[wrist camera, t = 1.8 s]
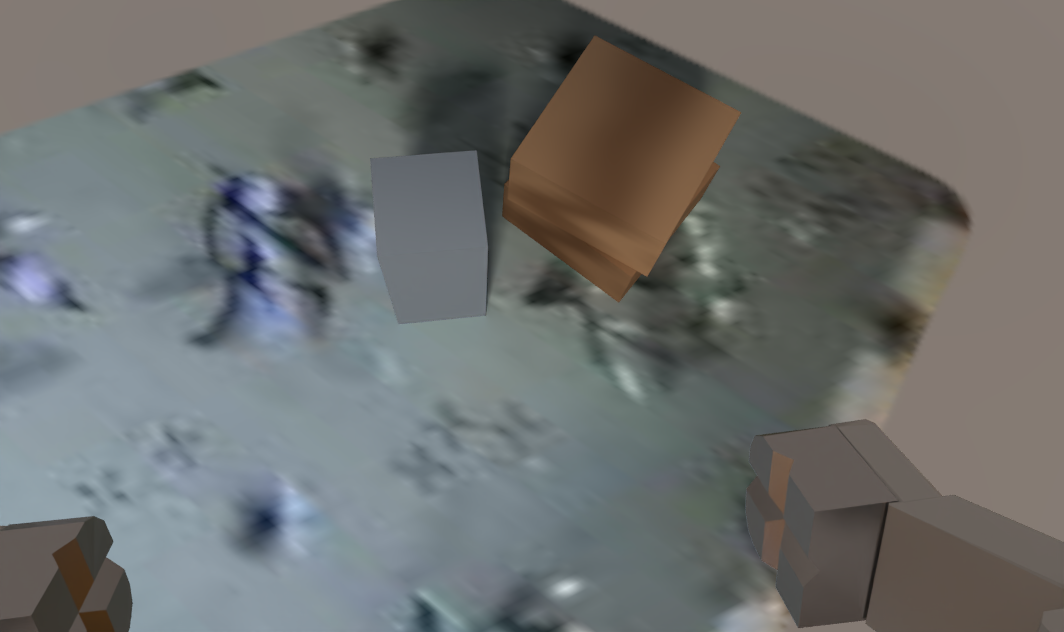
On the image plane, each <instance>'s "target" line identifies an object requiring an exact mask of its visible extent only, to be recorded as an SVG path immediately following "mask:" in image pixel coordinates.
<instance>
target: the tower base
mask: <svg viewBox="0 0 1064 632" xmlns="http://www.w3.org/2000/svg"><path fill="white" fill-rule="evenodd" d="M719 167H720V166H719V165H717V164H716V163H714V162H713V163H712V165H711V166H710V168H709V170H708V172H707V173H706V175H705V177H704V179H703V180H702V182H701V184H700V186H699V187H698V189H697V191H696V193H695V194H694V196H693V198H692V199H691V201H690V203H689V205H688V206H687V208H686V210H685V212H684V213H683V215H682V217H681V219H680V220H679V222H678V224H677V226H676V227H675V229H674V231H673V233H674V232H675V231H676V230H677V228H678V227H679V226H680V225H681V223H682V222H683V221H684V219H685V218H686V217H687V216H688V214H689V213H690V212H691V211H692V209H693V208H694V207H695V206H696V204H697V203H698V202H699V200H700V199H701V198H702V196H703V194H704V193H705V191H706V189H707V188H708V186H709V184H710V182H711V181H712V179H713V177H714V176H715V174H716V172H717V171H718V169H719ZM508 188H509V180H508V181H507V182H506V183H505V184H504V198H503V212H502V216H503V217H504V218H505V219H507V220H508V221H509V222H511V223H512V224H513V225H515V226H516V227H517V228H519V229H520V230H522V231H523V232H524V233H526V234H527V235H528V236H530V237H531V238H532V239H534V240H535V241H536V242H538V243H539V244H540V245H542V246H543V247H544V248H546V249H547V250H549V251H550V252H551V253H553V254H554V255H555V256H557V257H558V258H559V259H561V260H562V261H563V262H565V263H566V264H567V265H569V266H570V267H572V268H573V269H574V270H576V271H577V272H578V273H580V274H581V275H582V276H584V277H585V278H586V279H588V280H589V281H590V282H592V283H593V284H595V285H596V286H597V287H599V288H600V289H601V290H603V291H604V292H605V293H607V294H608V295H609V296H611V297H612V298H613V299H615V300H616V301H617V302H620V300H621V299H622V298H623V297H624V295H625V294H626V293H627V292H628V290H629V289H630V288H631V287H632V285H633V284H634V283H635V281H636V280H637V279H638V278H639V276H640V275H641V273H640V272H638V271H636V270H634V269H632V268H631V267H629V266H627V265H625V264H624V263H622V262H620V261H618V260H616V259H615V258H613V257H611V256H609V255H607V254H606V253H604V252H602V251H600V250H598V249H597V248H595V247H593V246H591V245H589V244H588V243H586V242H584V241H582V240H580V239H579V238H577V237H575V236H573V235H572V234H570V233H568V232H566V231H564V230H563V229H561V228H559V227H557V226H555V225H554V224H552V223H550V222H548V221H546V220H545V219H543V218H541V217H539V216H537V215H536V214H534V213H532V212H530V211H529V210H527V209H525V208H523V207H521V206H520V205H518V204H516V203H514V202H512V201H511V200H509V199H508ZM673 233H672V234H671V236H672V235H673ZM671 236H670V237H671Z"/></svg>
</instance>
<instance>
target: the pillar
mask: <svg viewBox="0 0 1064 632" xmlns="http://www.w3.org/2000/svg"><path fill="white" fill-rule="evenodd" d="M370 161H371V175H372V189H373V203H374V217H375V231H376V245H377V257H378V260H379V264H380V267H381V270H382V273H383V276H384V280H385V283H386V286H387V289H388V292H389V296H390V299H391V302H392V305H393V308H394V312H395V315H396V318H397V321H398V324H406V323H416V322H426V321H436V320H446V319H456V318H466V317H476V316H486V292H487V262H488V242H487V234H486V225H485V217H484V208H483V200H482V192H481V183H480V175H479V166H478V158H477V150H473V151H460V152H447V153H434V154H421V155H409V156H396V157H383V158H370Z"/></svg>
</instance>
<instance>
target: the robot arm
mask: <svg viewBox="0 0 1064 632" xmlns="http://www.w3.org/2000/svg"><path fill="white" fill-rule="evenodd" d="M749 463H750V464H751V466H752V468H753V469H754V471H755V473H756V474H757V477H756V478H755V479H754V480H753V482H752V483H751V484H750V485H749V486H748V488H747V489H746V507H745V511H746V517H747V524H748V530H749V533H750V536H751V539H752V542H753V545H754V547H755V549H756V551H757V553H758V555H759V557H760V559H761V561H763V562H765V563H766V564H768V565H770V566H771V567H773V568H775V569H776V570H777V578H776V588H777V590H778V592H779V594H780V596H781V598H782V599H783V601H784V603H785V605H786V607H787V608H788V610H789V612H790V614H791V616H792V618H793V619H794V621H795V623H796V625H797V627H798V628H803V627H812V626H820V625H830V624H837V623H846V622H855V621H864V620H866V624H867V625H868V626H870V627H871V628H872V629H873V630H875V631H876V632H1064V542H1062V541H1060V540H1057V539H1055V538H1052V537H1051V536H1048V535H1046V534H1044V533H1041V532H1039V531H1037V530H1034V529H1032V528H1030V527H1027V526H1025V525H1023V524H1020V523H1018V522H1016V521H1014V520H1011V519H1009V518H1007V517H1004V516H1002V515H1000V514H997V513H995V512H993V511H990V510H988V509H986V508H983V507H981V506H979V505H976V504H974V503H972V502H970V501H967V500H965V499H962V498H960V497H958V496H956V495H949V496H942V495H941V494H940V493H939V492H938V491H937V490H936V489H935V487H934V486H933V485H932V484H931V483H930V482H929V481H928V480H927V479H926V478H925V477H924V476H923V475H922V474H921V473H920V472H919V470H918V469H917V468H916V467H915V466H914V465H913V464H912V463H911V462H910V461H909V459H907V457H906V456H905V455H904V454H903V453H902V452H901V451H900V450H899V449H898V448H897V447H896V445H895V444H894V443H893V442H892V441H891V440H890V439H889V438H888V437H887V436H886V435H885V434H884V433H883V432H882V430H881V429H880V428H879V427H878V426H877V425H876V424H875V423H873V422H871V421H869V420H866V419H864V420H857V421H851V422H844V423H838V424H831V425H829V426H826V427H818V428H810V429H802V430H795V431H787V432H779V433H771V434H763V435H755V436H754V438H753V441H752V443H751V446H750V455H749ZM112 544H113V539H112V537H111V535H110V532H109V530H108V528H107V526H106V523H105V521H104V520H102V519H99V518H97V517H95V516H90V517H80V518H71V519H61V520H51V521H41V522H31V523H21V524H12V525H8V526H0V632H128V631H129V628H130V621H131V613H132V604H133V603H132V596H131V588H130V583H129V581H128V578H127V575H126V573H125V570H124V569H123V568H122V567H120V566H119V565H117V564H116V563H114V562H113V561H111V560H110V559H108V558H107V557H106V556H107V554H108V552H109V550H110V548H111V546H112Z"/></svg>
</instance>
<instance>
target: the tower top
mask: <svg viewBox="0 0 1064 632" xmlns="http://www.w3.org/2000/svg"><path fill="white" fill-rule="evenodd" d="M740 114H741V112H739V111H738V110H736V109H734V108H732V107H730V106H728V105H726V104H724V103H722V102H720V101H719V100H717V99H715V98H713V97H711V96H709V95H707V94H705V93H703V92H701V91H700V90H698V89H696V88H694V87H692V86H690V85H688V84H686V83H684V82H682V81H680V80H679V79H677V78H675V77H673V76H671V75H669V74H667V73H665V72H663V71H661V70H660V69H658V68H656V67H654V66H652V65H650V64H648V63H646V62H644V61H642V60H641V59H639V58H637V57H635V56H633V55H631V54H629V53H627V52H625V51H623V50H621V49H620V48H618V47H616V46H614V45H612V44H610V43H608V42H606V41H604V40H602V39H601V38H599V37H597V36H594V37H593V39H592V40H591V42H590V43H589V45H588V46H587V48H586V49H585V50H584V52H583V53H582V55H581V56H580V58H579V59H578V61H577V62H576V64H575V65H574V67H573V68H572V70H571V71H570V72H569V74H568V75H567V77H566V78H565V80H564V81H563V83H562V84H561V86H560V87H559V89H558V90H557V92H556V93H555V95H554V96H553V97H552V99H551V100H550V102H549V103H548V105H547V106H546V108H545V109H544V111H543V112H542V114H541V115H540V117H539V118H538V120H537V121H536V122H535V124H534V125H533V127H532V128H531V130H530V131H529V133H528V134H527V136H526V137H525V139H524V140H523V142H522V143H521V144H520V146H519V147H518V149H517V150H516V152H515V153H514V155H513V156H512V158H511V163H510V175H509V188H508V199H509V200H511V201H512V202H514V203H516V204H518V205H520V206H521V207H523V208H525V209H527V210H529V211H530V212H532V213H534V214H536V215H537V216H539V217H541V218H543V219H545V220H546V221H548V222H550V223H552V224H554V225H555V226H557V227H559V228H561V229H563V230H564V231H566V232H568V233H570V234H572V235H573V236H575V237H577V238H579V239H580V240H582V241H584V242H586V243H588V244H589V245H591V246H593V247H595V248H597V249H598V250H600V251H602V252H604V253H606V254H607V255H609V256H611V257H613V258H615V259H616V260H618V261H620V262H622V263H624V264H625V265H627V266H629V267H631V268H632V269H634V270H636V271H638V272H640V273H641V274H643V275H645V276H648V274H649V273H650V271H651V269H652V267H653V266H654V264H655V262H656V260H657V259H658V257H659V255H660V253H661V252H662V250H663V248H664V246H665V245H666V243H667V241H668V240H669V238H670V236H671V234H672V233H673V231H674V229H675V227H676V226H677V224H678V222H679V220H680V219H681V217H682V215H683V213H684V212H685V210H686V208H687V206H688V205H689V203H690V201H691V199H692V198H693V196H694V194H695V193H696V191H697V189H698V187H699V186H700V184H701V182H702V180H703V179H704V177H705V175H706V173H707V172H708V170H709V168H710V166H711V165H712V163H713V161H714V159H715V158H716V156H717V154H718V152H719V151H720V149H721V147H722V145H723V144H724V142H725V140H726V138H727V137H728V135H729V133H730V131H731V130H732V128H733V126H734V124H735V123H736V121H737V119H738V117H739V116H740Z"/></svg>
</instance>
